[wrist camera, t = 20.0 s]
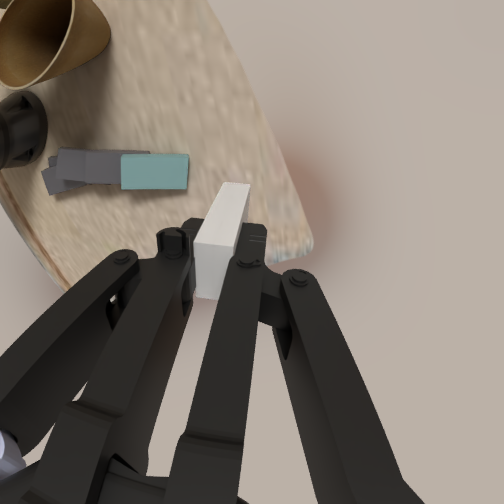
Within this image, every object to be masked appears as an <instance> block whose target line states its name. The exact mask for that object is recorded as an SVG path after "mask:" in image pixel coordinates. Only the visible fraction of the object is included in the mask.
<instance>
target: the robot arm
mask: <svg viewBox="0 0 504 504" xmlns="http://www.w3.org/2000/svg"><path fill="white" fill-rule="evenodd" d="M46 137H47V118H46V113H45V110H44V107H43V105H42V103H41V101H40V100H39V98H38V97H37V96H36V95H35V94H33V93H32V92H29V91H20V92H16V93H13V94H11V95H9V96H8V97H7V98H5V99H4V100H3V101H1V102H0V170H1V169H3V168H14V167H22V166H25V165H27V164H29V163H31V162H33V161H35V160H36V159H37V158H38V157H39V156H40V154H41V153H42V151H43V148H44V146H45V142H46ZM250 185H251V184H241V183H231V182H224V183H223V185H222V187H221V189H220V191H219V192H218V194H217V196H216V198H215V200H214V202H213V204H212V206H211V208H210V210H209V212H208V214H207V216H206V218H205V219H199V218H190V219H188V220H187V221H185V222H184V223H183V225H182V227H181V228H178V227H170V228H165V229H163V230H161V231H159V232H158V233H157V234H156V237H157V246H158V253H157V255H156V256H155V258H149V259H138V255H137V253H136V252H134V251H133V250H128V249H124V250H123V249H122V250H118V251H115V252H113V253H112V254H110V255H109V256H108V257H106V258H105V259H104V260H103V261H102V262H100V263H99V264H98V265H97V266H96V267H94V268H93V269H92V270H91V271H90V272H89V273H87V274H86V275H85V276H84V277H83V278H82V279H80V280H79V281H78V282H77V283H76V284H75V285H74V286H73V287H71V288H70V289H69V290H68V291H67V292H66V293H65V294H64V295H62V296H61V297H60V298H59V299H58V300H57V301H56V302H55V303H54V304H53V305H52V306H51V307H50V308H49V309H47V310H46V311H45V312H44V314H42V315H41V316H40V317H39V318H38V319H37V320H36V321H35V322H34V323H33V324H32V325H31V326H30V327H29V328H28V329H27V330H26V331H25V332H24V333H23V334H22V335H21V336H20V337H19V338H18V339H17V340H16V341H15V342H14V343H13V344H12V345H11V346H10V347H9V348H8V349H7V350H6V351H5V352H4V354H3V355H2V356H1V357H0V504H249V503H247V502H246V501H245V500H243V499H241V498H240V497H238V496H237V495H238V487H239V479H240V472H241V464H242V456H243V447H244V436H245V428H246V420H247V412H248V403H249V395H250V387H251V379H252V369H253V361H254V353H255V344H256V335H257V326H258V321H259V322H262V323H264V324H267V325H270V326H272V331H273V335H274V339H275V342H276V346H277V350H278V354H279V358H280V362H281V365H282V369H283V373H284V376H285V381H286V385H287V388H288V392H289V396H290V400H291V403H292V407H293V411H294V415H295V419H296V423H297V427H298V430H299V434H300V438H301V442H302V446H303V450H304V453H305V457H306V461H307V465H308V468H309V472H310V476H311V480H312V484H313V488H314V492H315V495H316V498H317V501H318V504H424V502H423V501H422V500H421V499H420V498H419V497H418V496H417V494H416V493H415V492H414V491H413V490H412V489H411V488H410V487H409V486H408V484H407V483H406V482H405V481H404V480H403V478H402V475H401V473H400V470H399V467H398V465H397V462H396V459H395V457H394V454H393V451H392V449H391V446H390V444H389V441H388V439H387V436H386V434H385V431H384V429H383V426H382V424H381V421H380V419H379V417H378V414H377V412H376V410H375V407H374V404H373V402H372V400H371V397H370V395H369V393H368V390H367V388H366V386H365V383H364V381H363V379H362V377H361V374H360V372H359V370H358V367H357V365H356V363H355V361H354V358H353V356H352V354H351V352H350V349H349V347H348V345H347V343H346V341H345V338H344V336H343V334H342V332H341V330H340V328H339V325H338V324H337V321H336V319H335V317H334V315H333V313H332V311H331V308H330V306H329V305H328V302H327V300H326V298H325V296H324V294H323V292H322V290H321V288H320V286H319V284H318V282H317V279H316V278H315V277H314V276H313V275H312V274H310V273H309V272H307V271H304V270H301V269H292V270H287V271H286V272H284V273H283V275H280V274H278V273H275V272H273V271H271V270H270V269H269V268H268V267H267V266H266V265H265V262H264V257H265V247H266V237H267V229H266V228H265V226H264V225H263V224H254V223H247V222H248V210H249V197H250ZM194 290H196V297H199V298H207V299H214V300H218V304H217V308H216V312H215V315H214V319H213V323H212V326H211V330H210V334H209V338H208V342H207V346H206V350H205V353H204V357H203V361H202V365H201V369H200V374H199V377H198V381H197V385H196V389H195V393H194V397H193V401H192V406H191V409H190V413H189V418H188V422H187V426H186V429H185V432H184V433H183V434H182V435H181V436H180V438H179V440H178V443H177V446H176V450H175V454H174V458H173V463H172V467H171V471H170V475H169V477H153V476H146V473H147V468H148V460H149V458H148V447H149V443H150V440H151V436H152V433H153V429H154V426H155V422H156V419H157V416H158V412H159V409H160V406H161V402H162V399H163V396H164V392H165V389H166V386H167V383H168V379H169V377H170V373H171V370H172V367H173V364H174V361H175V357H176V355H177V351H178V348H179V345H180V342H181V339H182V336H183V333H184V330H185V327H186V324H187V321H188V318H189V316H190V312H191V310H192V306H193V293H194ZM114 295H115V298H116V299H115V300H114V301H112V302H111V301H110V299H111V298H112V297H113V296H114ZM87 381H88V382H87ZM86 382H87V384H86ZM85 384H86V386H85V388H84V390H83V393H82V395H81V397H80V398H79V399H78V400H77V401H72V400H73V399H74V397H75V396H76V395H77V394H78V392H79V391H80V390H81V389H82V387H83V386H84V385H85ZM55 422H56V423H55ZM54 423H55V425H54ZM53 425H54V427H53V430H52V432H51V434H50V437H49V439H48V442H47V444H46V446H45V449H44V451H43V454H42V457H41V459H40V460H38V461H37V462H35V463H33V464H31V465H29V466H27V467H26V463H25V460H24V459H23V458H22V457H23V456H25V455H26V454H28V453H29V452H30V451H31V450H32V449H34V448H35V447H36V446H37V445H38V444H39V442H40V441H41V440H42V439H43V438H44V436H45V435H46V434H47V433H48V431H49V430H50V429H51V427H52V426H53Z"/></svg>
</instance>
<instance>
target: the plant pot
mask: <svg viewBox="0 0 504 504" xmlns="http://www.w3.org/2000/svg"><path fill="white" fill-rule="evenodd" d="M109 39H110V26H109V24H108V22H107V20H106V18H105V16H104V15H103V13H102V12H101V10H100V9H99V8H98V7H97V5H96V4H95V3H94V2H93V1H92V0H12V1H11V3H10V4H9V5H8V7H7V8H6V10H5V11H4V13H3V15H2V17H1V19H0V84H1V85H2V86H4V87H5V88H7V89H11V90H20V89H24V88H26V87H29V86H32V85H35V84H38V83H40V82H43V81H46V80H49V79H51V78H54V77H56V76H58V75H61V74H63V73H65V72H68V71H70V70H72V69H74V68H76V67H78V66H80V65H82V64H84V63H86V62H88V61H89V60H91V59H93V58H94V57H96V56H97V55H99V54H100V53H101V52H102V51H103V50H104V49H105V47H106V46H107V44H108V42H109Z"/></svg>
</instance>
